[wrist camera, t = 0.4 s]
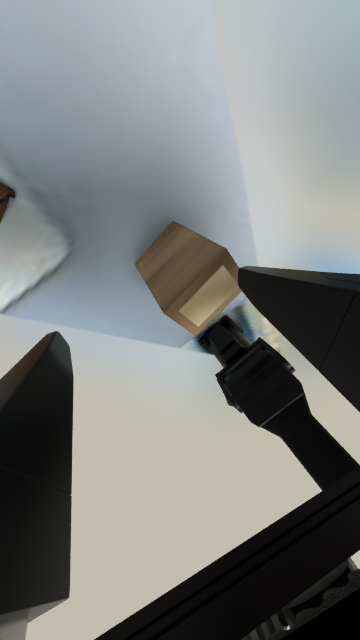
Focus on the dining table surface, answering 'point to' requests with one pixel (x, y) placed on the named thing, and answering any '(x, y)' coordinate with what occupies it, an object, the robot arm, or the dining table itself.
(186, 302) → the walnut block
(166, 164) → the dining table surface
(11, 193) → the sunglasses case
